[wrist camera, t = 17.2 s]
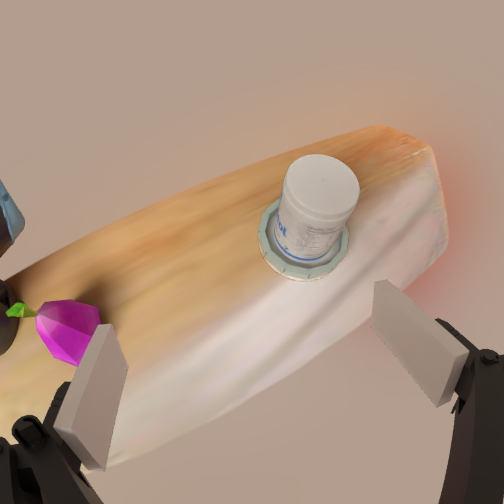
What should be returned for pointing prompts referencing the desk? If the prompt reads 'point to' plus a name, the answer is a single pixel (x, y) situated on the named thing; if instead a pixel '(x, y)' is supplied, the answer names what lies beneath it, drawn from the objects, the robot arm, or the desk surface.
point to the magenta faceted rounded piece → (62, 326)
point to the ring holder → (290, 266)
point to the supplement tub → (314, 206)
